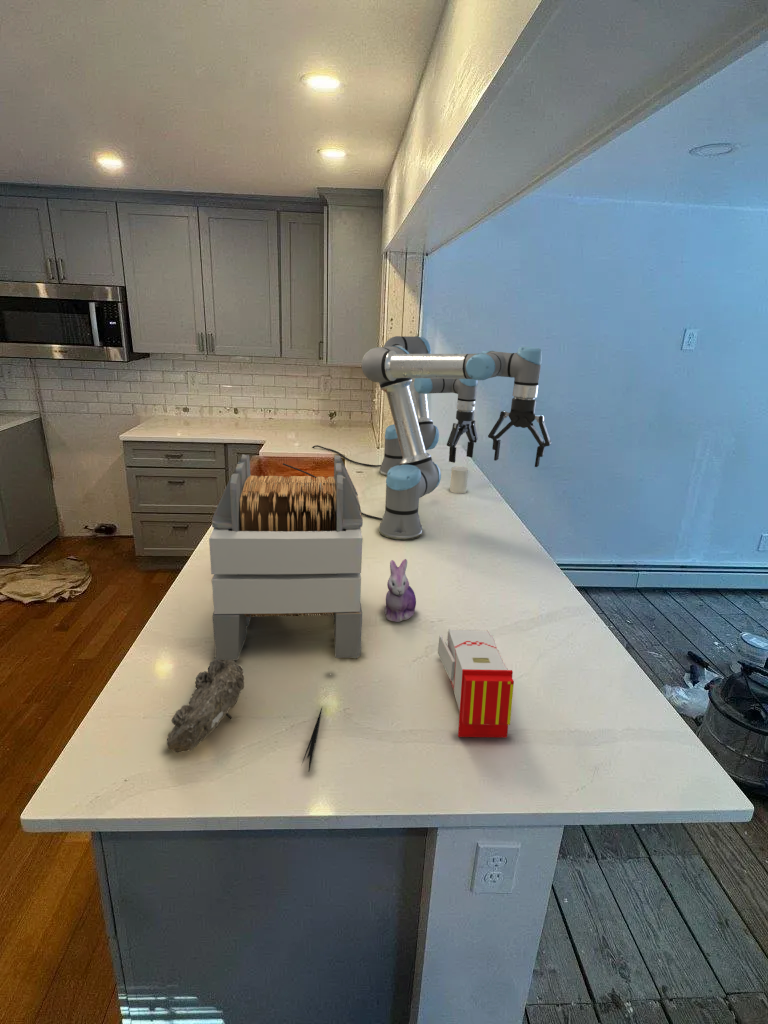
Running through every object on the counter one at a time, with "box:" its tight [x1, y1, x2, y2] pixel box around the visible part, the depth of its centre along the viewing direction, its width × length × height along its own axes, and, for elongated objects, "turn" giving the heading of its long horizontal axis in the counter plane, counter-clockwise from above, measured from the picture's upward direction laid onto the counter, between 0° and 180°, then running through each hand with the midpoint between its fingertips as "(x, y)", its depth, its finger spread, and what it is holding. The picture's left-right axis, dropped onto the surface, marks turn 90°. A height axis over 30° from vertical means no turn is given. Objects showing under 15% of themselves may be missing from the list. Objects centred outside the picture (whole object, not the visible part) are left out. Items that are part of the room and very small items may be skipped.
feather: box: [301, 673, 332, 771], centre depth 108 cm, size 2×28×2 cm
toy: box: [437, 628, 515, 738], centre depth 117 cm, size 12×13×30 cm
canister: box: [449, 465, 470, 494], centre depth 249 cm, size 7×7×10 cm
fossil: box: [166, 659, 245, 754], centre depth 106 cm, size 22×10×15 cm
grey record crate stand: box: [208, 453, 364, 661], centre depth 135 cm, size 34×33×41 cm
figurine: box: [384, 558, 417, 623], centre depth 145 cm, size 9×10×15 cm
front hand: (516, 462), depth 187 cm, fingers open, 13 cm apart
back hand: (460, 459), depth 246 cm, fingers open, 13 cm apart
